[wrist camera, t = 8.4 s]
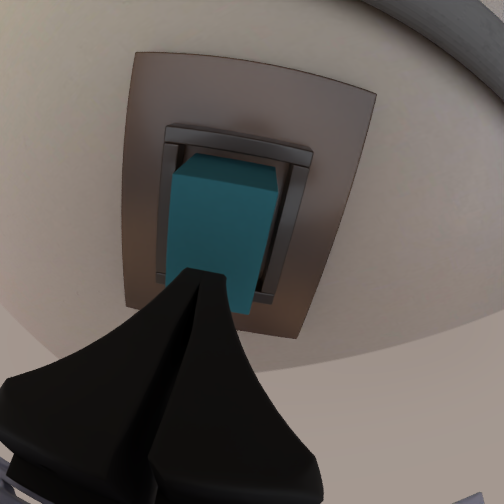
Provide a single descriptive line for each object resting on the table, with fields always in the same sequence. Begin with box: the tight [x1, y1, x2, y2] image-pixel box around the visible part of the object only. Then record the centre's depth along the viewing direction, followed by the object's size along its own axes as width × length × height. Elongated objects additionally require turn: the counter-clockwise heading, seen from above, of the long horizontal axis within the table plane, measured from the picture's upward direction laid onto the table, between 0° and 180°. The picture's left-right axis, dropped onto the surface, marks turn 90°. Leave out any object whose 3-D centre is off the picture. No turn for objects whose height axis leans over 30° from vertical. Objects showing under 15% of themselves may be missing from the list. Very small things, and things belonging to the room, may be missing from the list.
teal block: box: [165, 153, 278, 315], centre depth 14 cm, size 6×4×4 cm, turn 169°
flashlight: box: [362, 0, 504, 101], centre depth 9 cm, size 5×28×5 cm
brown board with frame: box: [121, 52, 377, 339], centre depth 16 cm, size 16×12×2 cm
